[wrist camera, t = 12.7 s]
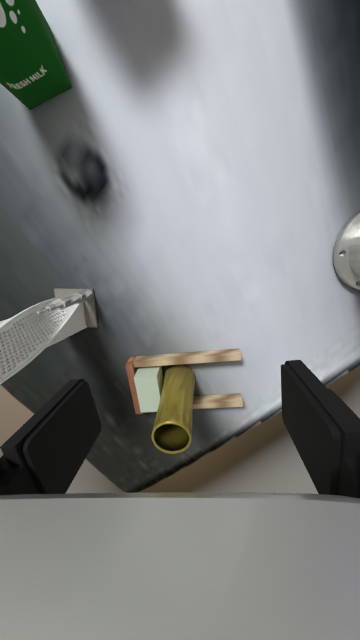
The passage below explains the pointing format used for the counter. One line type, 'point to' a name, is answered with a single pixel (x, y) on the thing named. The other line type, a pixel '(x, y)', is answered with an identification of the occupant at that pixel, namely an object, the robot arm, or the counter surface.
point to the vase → (175, 411)
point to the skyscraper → (44, 327)
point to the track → (187, 358)
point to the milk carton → (29, 54)
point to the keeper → (149, 387)
